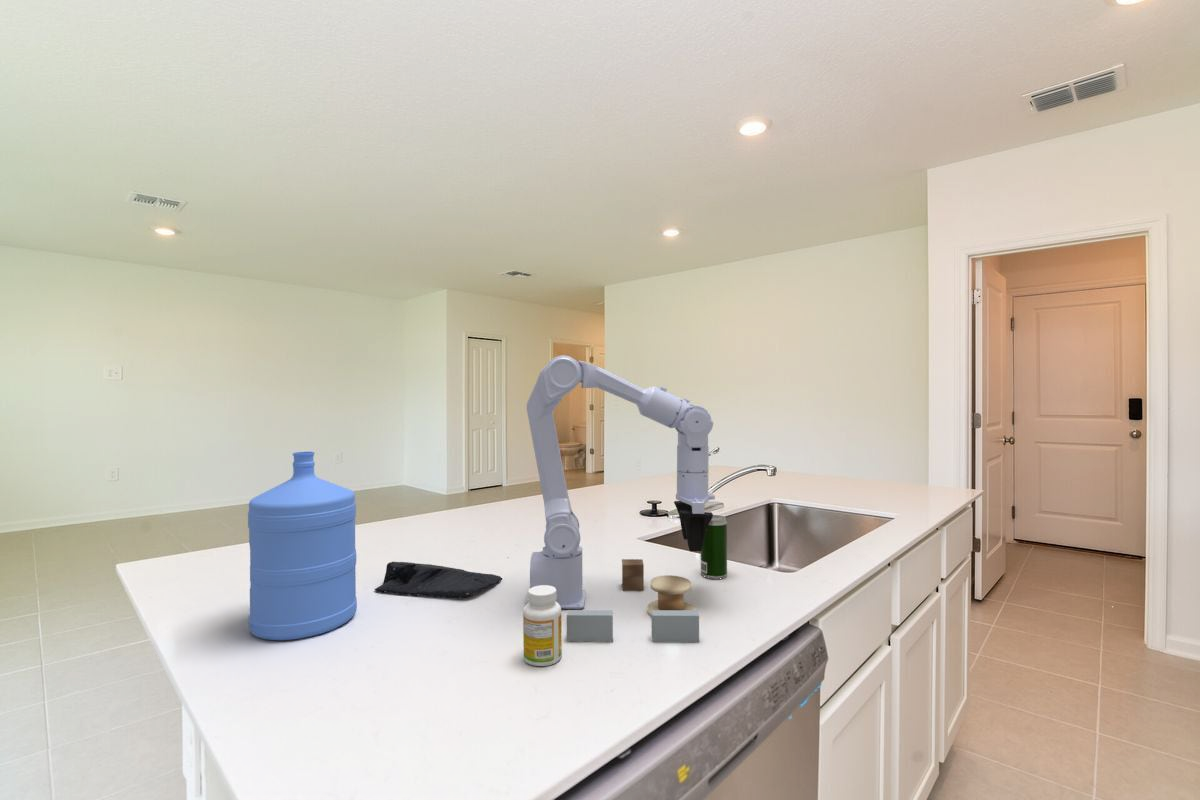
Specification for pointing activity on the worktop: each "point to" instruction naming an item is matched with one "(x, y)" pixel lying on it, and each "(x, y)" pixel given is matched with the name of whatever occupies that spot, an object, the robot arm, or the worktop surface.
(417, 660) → the worktop surface
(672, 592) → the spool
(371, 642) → the worktop surface
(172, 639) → the worktop surface
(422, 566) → the dark slate chunk
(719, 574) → the beer can
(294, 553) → the water jug
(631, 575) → the block
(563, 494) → the robot arm
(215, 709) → the worktop surface
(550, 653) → the supplement bottle
